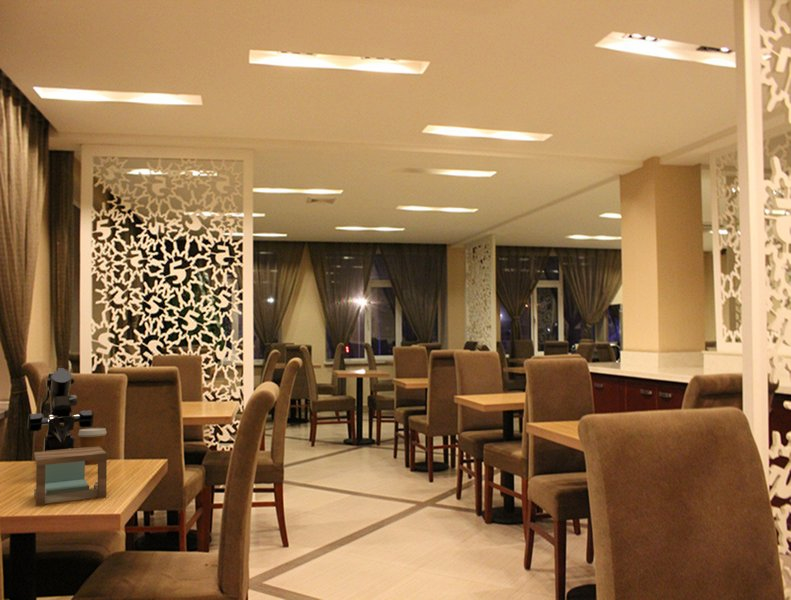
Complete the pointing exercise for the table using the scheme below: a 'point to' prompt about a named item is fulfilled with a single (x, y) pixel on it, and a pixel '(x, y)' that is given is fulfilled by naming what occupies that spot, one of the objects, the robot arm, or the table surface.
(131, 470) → the table surface
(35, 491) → the walnut overhang shelf
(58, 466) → the teal plastic shell
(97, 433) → the disposable coffee cup
